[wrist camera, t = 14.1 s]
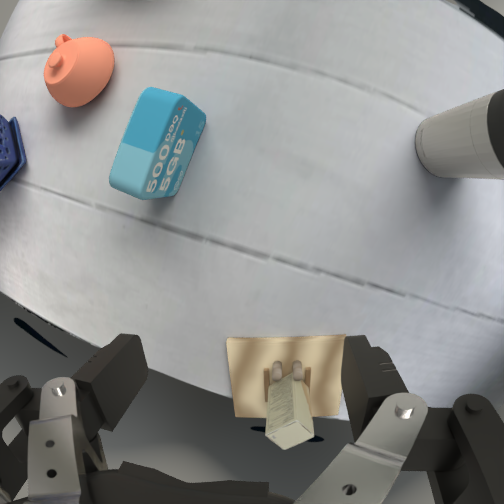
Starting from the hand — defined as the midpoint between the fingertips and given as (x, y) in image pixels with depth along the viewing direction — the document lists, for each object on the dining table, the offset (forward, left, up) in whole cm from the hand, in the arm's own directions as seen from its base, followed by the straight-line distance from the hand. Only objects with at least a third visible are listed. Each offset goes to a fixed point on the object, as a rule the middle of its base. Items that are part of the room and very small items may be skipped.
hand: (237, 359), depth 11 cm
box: (-2, +24, -28) cm, 37 cm away
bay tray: (-2, +24, -30) cm, 38 cm away
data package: (+12, -12, -30) cm, 35 cm away
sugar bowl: (+28, -29, -30) cm, 50 cm away
